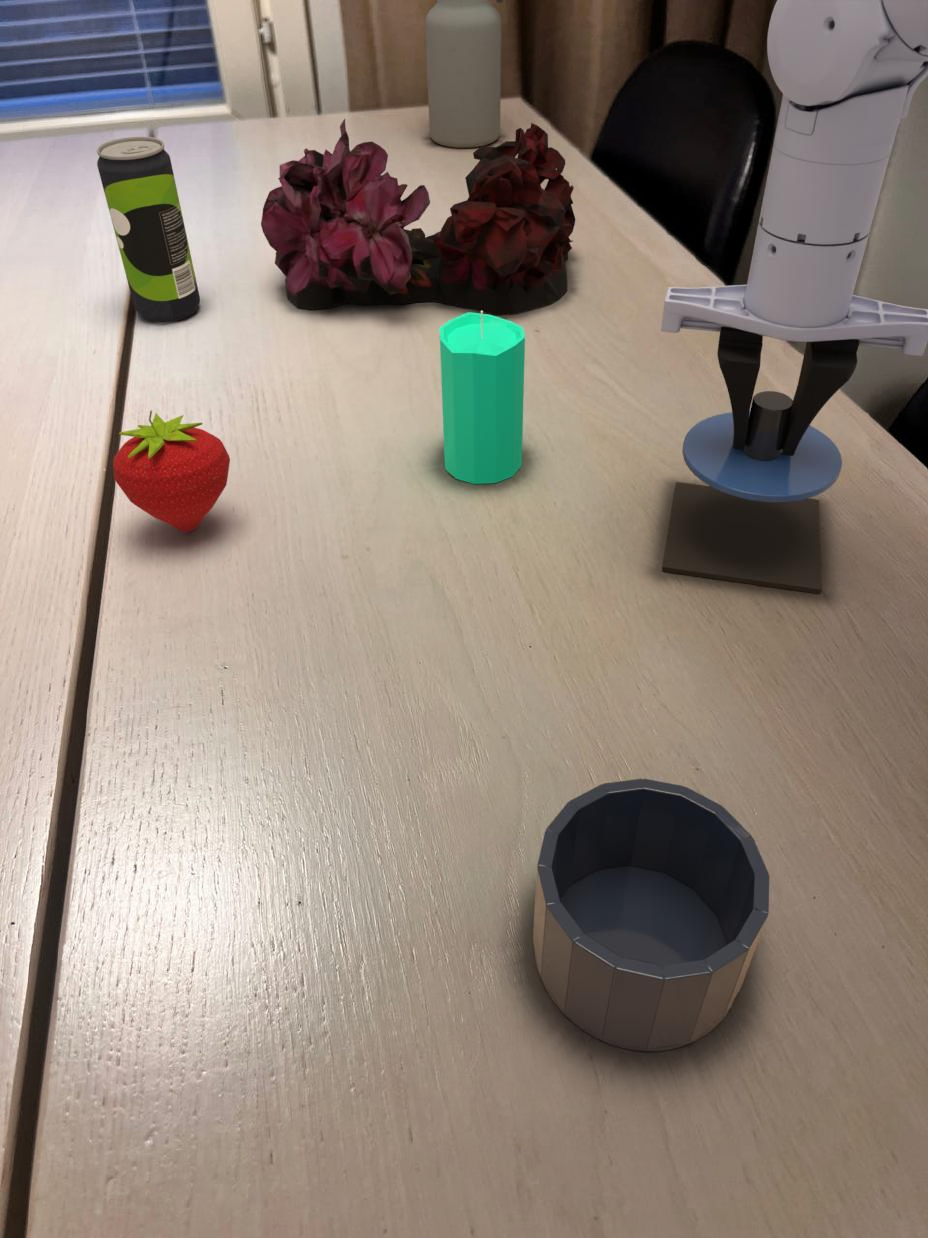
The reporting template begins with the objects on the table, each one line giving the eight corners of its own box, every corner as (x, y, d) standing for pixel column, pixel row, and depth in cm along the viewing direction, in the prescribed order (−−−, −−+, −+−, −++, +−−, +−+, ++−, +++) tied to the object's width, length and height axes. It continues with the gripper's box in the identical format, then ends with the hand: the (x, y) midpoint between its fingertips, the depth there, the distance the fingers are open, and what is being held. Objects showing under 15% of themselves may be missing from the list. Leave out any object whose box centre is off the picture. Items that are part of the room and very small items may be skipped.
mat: (817, 504, 68) (819, 499, 67) (820, 594, 60) (821, 589, 60) (675, 486, 70) (676, 481, 69) (661, 571, 62) (662, 566, 62)
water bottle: (499, 126, 136) (501, -122, 117) (506, 147, 128) (509, -113, 109) (428, 129, 135) (418, -120, 116) (431, 150, 128) (421, -111, 109)
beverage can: (195, 292, 96) (160, 131, 86) (207, 317, 92) (172, 151, 81) (132, 304, 94) (89, 140, 84) (141, 330, 90) (97, 161, 80)
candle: (433, 448, 74) (427, 299, 66) (506, 434, 75) (509, 287, 67) (456, 490, 70) (452, 336, 61) (533, 475, 71) (539, 323, 63)
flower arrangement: (555, 236, 105) (563, 85, 95) (602, 314, 91) (616, 145, 80) (271, 258, 102) (247, 104, 92) (271, 342, 87) (243, 170, 77)
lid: (835, 434, 64) (853, 370, 60) (840, 520, 57) (861, 453, 54) (687, 417, 66) (697, 354, 62) (674, 498, 59) (685, 432, 55)
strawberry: (245, 548, 65) (217, 420, 58) (132, 564, 64) (90, 436, 57) (242, 499, 69) (215, 374, 62) (136, 513, 68) (97, 388, 61)
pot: (744, 883, 45) (771, 801, 41) (735, 1076, 39) (767, 1003, 34) (553, 844, 47) (560, 762, 43) (515, 1022, 41) (518, 947, 36)
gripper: (949, 208, 52) (880, 424, 61) (682, 190, 55) (654, 399, 64) (966, 259, 47) (888, 485, 56) (671, 236, 50) (642, 456, 59)
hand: (763, 444), depth 60 cm, fingers closed on lid, 2 cm apart
